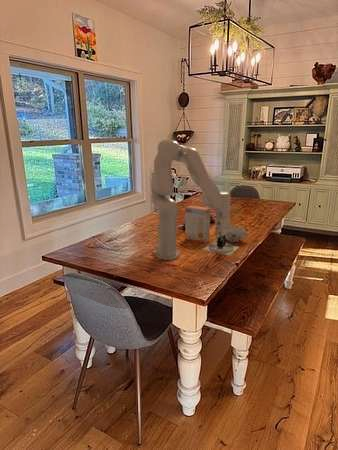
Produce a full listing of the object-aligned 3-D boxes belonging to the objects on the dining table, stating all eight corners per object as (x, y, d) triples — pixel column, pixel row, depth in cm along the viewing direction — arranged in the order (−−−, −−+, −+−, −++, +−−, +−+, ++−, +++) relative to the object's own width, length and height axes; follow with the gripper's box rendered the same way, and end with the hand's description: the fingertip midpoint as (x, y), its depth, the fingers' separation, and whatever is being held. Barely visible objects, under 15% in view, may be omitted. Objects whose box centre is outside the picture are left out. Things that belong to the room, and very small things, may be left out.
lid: (204, 249, 178) (204, 238, 176) (215, 242, 189) (215, 232, 187) (227, 254, 170) (228, 243, 168) (237, 246, 181) (237, 236, 180)
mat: (202, 249, 178) (202, 249, 178) (213, 242, 190) (213, 241, 190) (229, 255, 169) (229, 255, 169) (239, 247, 181) (239, 246, 181)
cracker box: (209, 241, 191) (210, 207, 185) (204, 244, 187) (205, 209, 181) (190, 237, 199) (190, 204, 193) (184, 239, 195) (185, 206, 188)
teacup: (219, 242, 189) (220, 229, 187) (226, 236, 200) (226, 224, 198) (244, 246, 183) (245, 233, 180) (249, 240, 193) (250, 227, 191)
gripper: (222, 218, 165) (221, 251, 171) (234, 212, 178) (232, 242, 184) (209, 216, 169) (208, 248, 174) (222, 210, 182) (221, 240, 188)
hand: (221, 245), depth 179 cm, fingers closed on lid, 3 cm apart
